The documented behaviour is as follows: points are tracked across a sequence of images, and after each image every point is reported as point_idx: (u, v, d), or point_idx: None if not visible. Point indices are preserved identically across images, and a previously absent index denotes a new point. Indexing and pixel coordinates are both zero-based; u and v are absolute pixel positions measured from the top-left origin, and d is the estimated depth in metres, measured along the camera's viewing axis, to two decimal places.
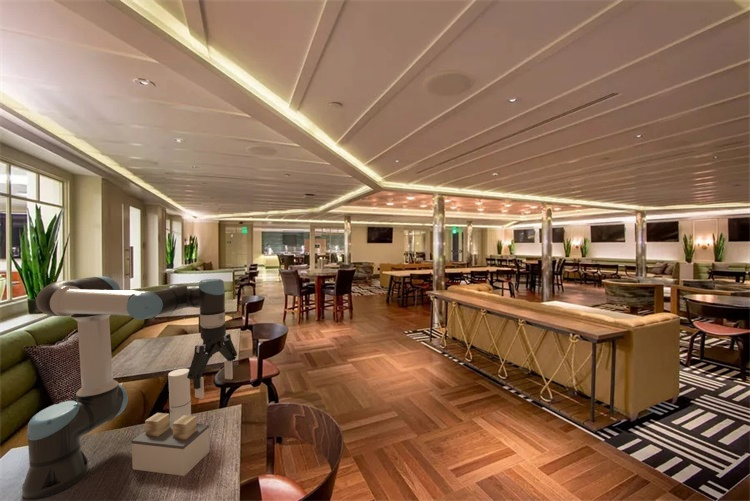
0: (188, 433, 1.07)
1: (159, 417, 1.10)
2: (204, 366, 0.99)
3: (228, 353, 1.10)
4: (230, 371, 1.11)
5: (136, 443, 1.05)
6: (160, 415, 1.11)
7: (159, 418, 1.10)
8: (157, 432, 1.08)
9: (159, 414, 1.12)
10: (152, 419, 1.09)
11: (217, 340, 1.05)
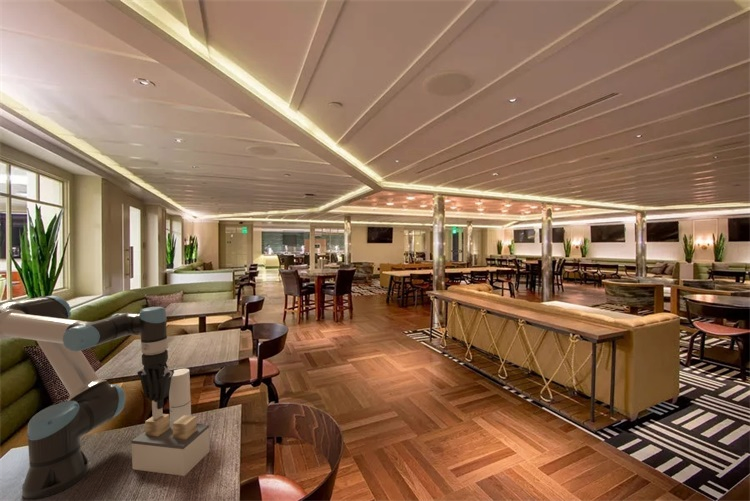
0: (188, 433, 1.07)
1: (159, 417, 1.10)
2: (150, 389, 1.09)
3: (156, 389, 1.09)
4: None
5: (136, 443, 1.05)
6: None
7: (159, 419, 1.10)
8: (157, 432, 1.08)
9: None
10: (152, 420, 1.09)
11: None
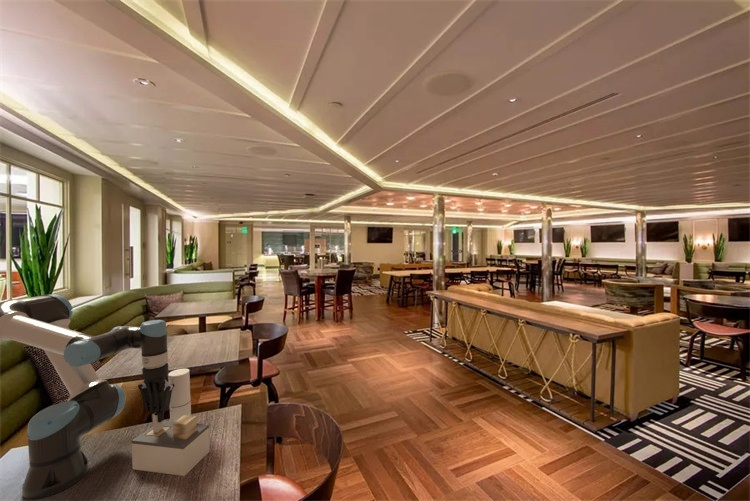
0: (188, 433, 1.07)
1: None
2: (150, 403, 1.09)
3: (156, 403, 1.09)
4: None
5: (136, 443, 1.05)
6: (161, 429, 1.12)
7: (160, 432, 1.10)
8: None
9: None
10: (153, 433, 1.09)
11: None
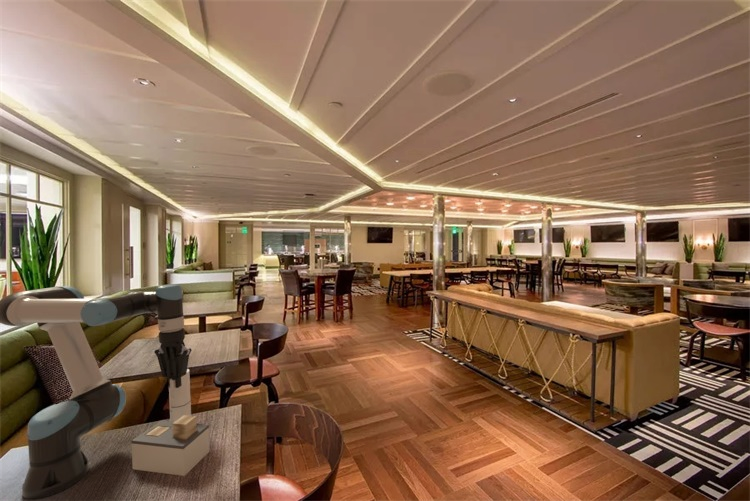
0: (188, 433, 1.07)
1: (159, 430, 1.11)
2: (167, 368, 1.07)
3: (174, 368, 1.07)
4: None
5: (136, 443, 1.05)
6: (161, 429, 1.12)
7: (160, 432, 1.10)
8: None
9: (160, 428, 1.12)
10: (153, 433, 1.09)
11: None
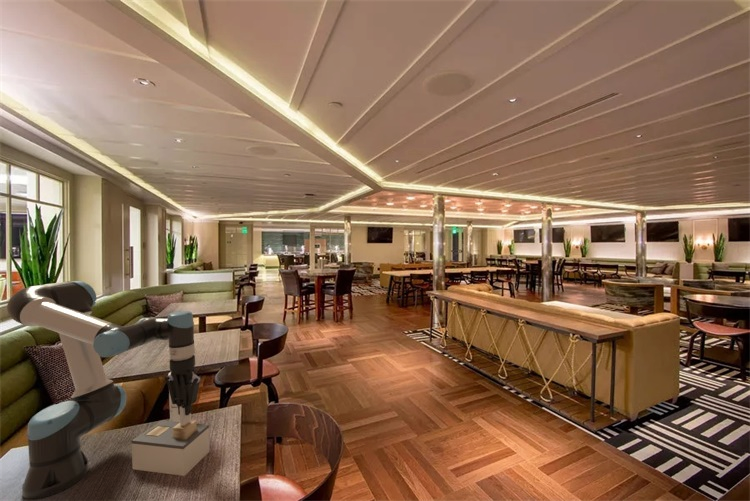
0: (188, 437, 1.07)
1: (159, 430, 1.11)
2: (177, 395, 1.07)
3: (184, 395, 1.07)
4: None
5: (136, 443, 1.05)
6: (161, 429, 1.12)
7: (160, 432, 1.10)
8: None
9: (160, 428, 1.12)
10: (153, 433, 1.09)
11: None
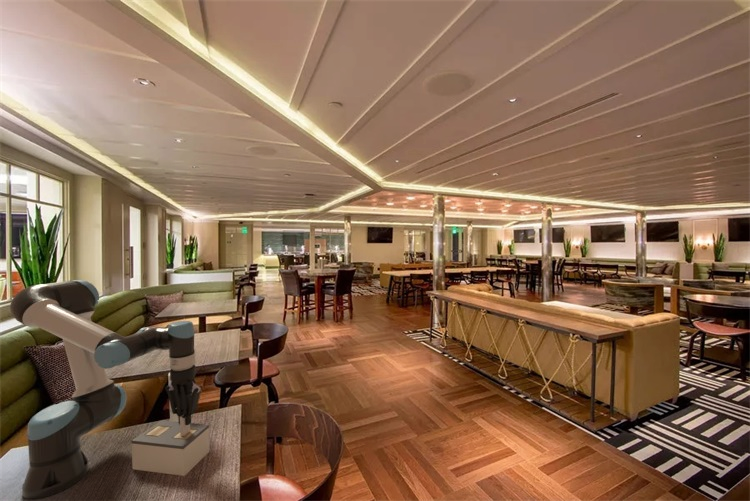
0: None
1: (159, 430, 1.11)
2: (178, 405, 1.07)
3: (184, 405, 1.07)
4: None
5: (136, 443, 1.05)
6: (161, 429, 1.12)
7: (160, 432, 1.10)
8: None
9: (160, 428, 1.12)
10: (153, 433, 1.09)
11: None
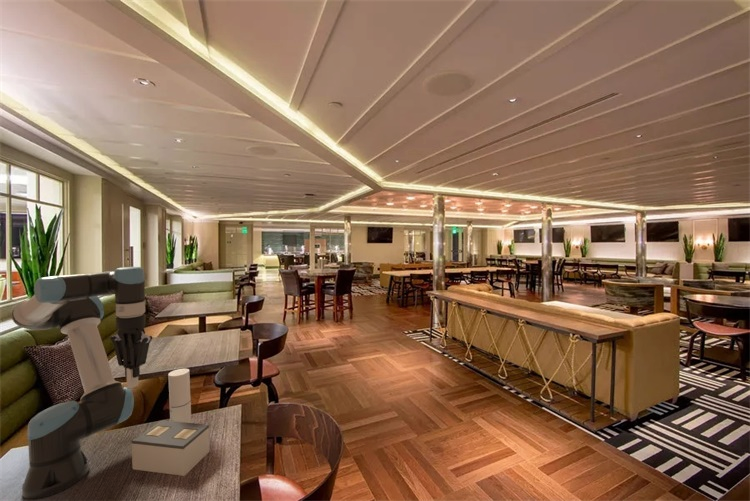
0: None
1: (159, 430, 1.11)
2: (124, 356, 1.00)
3: (132, 356, 0.99)
4: None
5: (136, 443, 1.05)
6: (161, 429, 1.12)
7: (160, 432, 1.10)
8: None
9: (160, 428, 1.12)
10: (153, 433, 1.09)
11: None
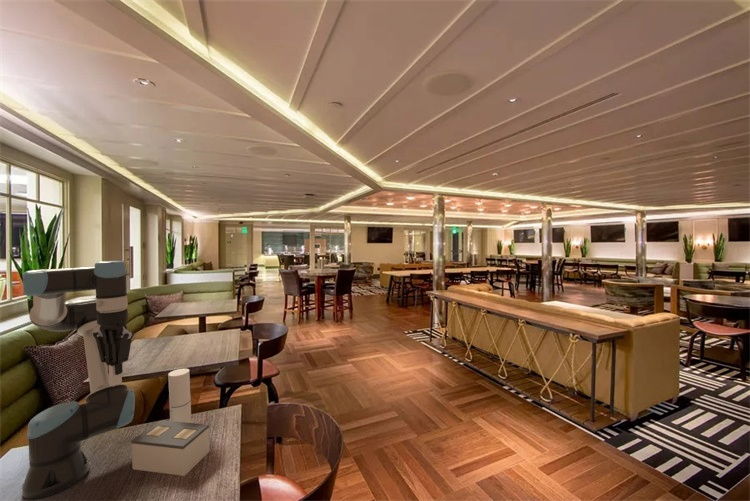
0: None
1: (159, 430, 1.11)
2: (106, 353, 0.97)
3: (113, 352, 0.97)
4: None
5: (136, 443, 1.05)
6: (161, 429, 1.12)
7: (160, 432, 1.10)
8: None
9: (160, 428, 1.12)
10: (153, 433, 1.09)
11: None
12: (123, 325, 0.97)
